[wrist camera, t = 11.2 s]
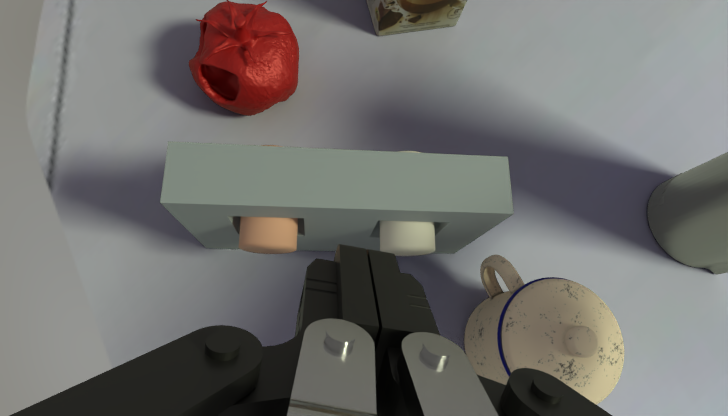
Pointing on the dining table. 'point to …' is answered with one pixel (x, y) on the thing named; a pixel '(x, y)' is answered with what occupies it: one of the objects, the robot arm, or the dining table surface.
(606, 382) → the teacup with lid
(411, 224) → the cream button
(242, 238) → the terracotta button
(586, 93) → the dining table surface
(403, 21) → the coffee box
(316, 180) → the button panel
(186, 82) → the dining table surface
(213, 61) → the tomato
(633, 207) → the dining table surface
